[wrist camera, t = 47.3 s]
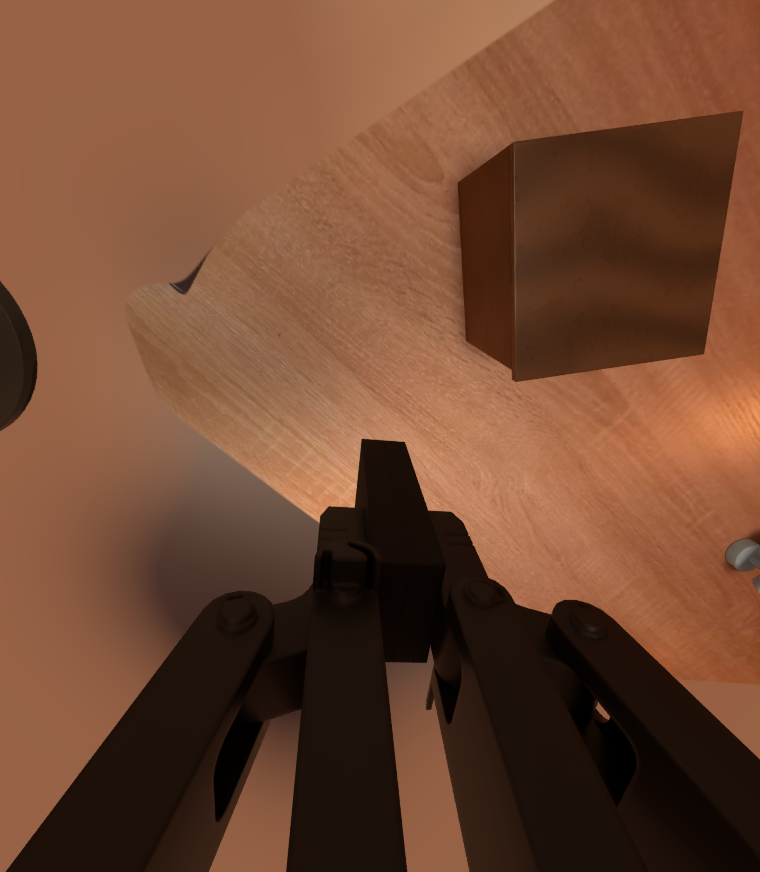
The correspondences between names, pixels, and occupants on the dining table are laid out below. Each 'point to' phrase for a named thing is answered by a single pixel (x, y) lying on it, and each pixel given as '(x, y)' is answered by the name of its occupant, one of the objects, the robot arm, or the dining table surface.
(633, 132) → the lid
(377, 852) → the robot arm
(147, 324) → the dining table surface
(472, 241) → the chest
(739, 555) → the spotlight
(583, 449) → the dining table surface
